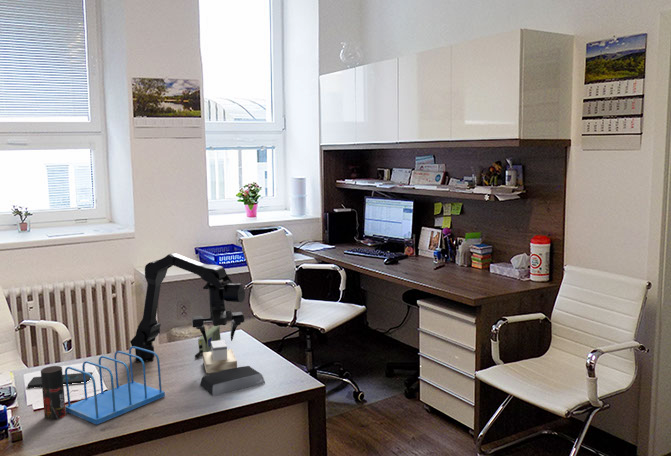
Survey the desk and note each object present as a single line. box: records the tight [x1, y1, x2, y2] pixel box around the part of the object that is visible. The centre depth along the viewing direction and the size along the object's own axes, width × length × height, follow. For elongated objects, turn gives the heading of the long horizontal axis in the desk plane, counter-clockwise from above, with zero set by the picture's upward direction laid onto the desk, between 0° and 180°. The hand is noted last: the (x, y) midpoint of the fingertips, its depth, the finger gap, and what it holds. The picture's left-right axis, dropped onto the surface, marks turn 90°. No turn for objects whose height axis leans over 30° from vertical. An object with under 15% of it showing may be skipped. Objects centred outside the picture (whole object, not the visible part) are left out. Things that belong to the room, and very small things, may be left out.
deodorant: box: [40, 365, 67, 421], centre depth 189 cm, size 6×6×15 cm
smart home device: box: [27, 371, 93, 389], centre depth 218 cm, size 8×2×20 cm
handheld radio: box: [194, 325, 222, 359], centre depth 251 cm, size 7×3×25 cm
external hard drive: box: [199, 365, 266, 397], centre depth 212 cm, size 13×19×4 cm
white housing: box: [210, 339, 228, 361], centre depth 228 cm, size 5×8×5 cm, turn 17°
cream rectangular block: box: [202, 348, 238, 375], centre depth 229 cm, size 11×14×4 cm
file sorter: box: [64, 345, 166, 425], centre depth 197 cm, size 25×17×15 cm
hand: (219, 342), depth 228 cm, fingers open, 9 cm apart
